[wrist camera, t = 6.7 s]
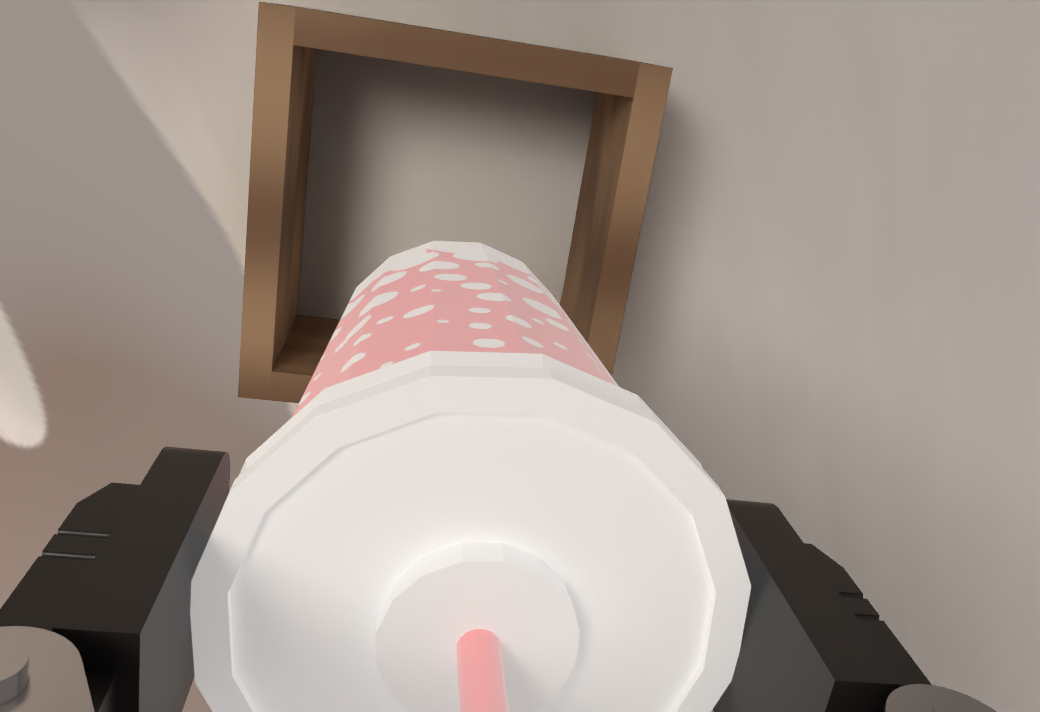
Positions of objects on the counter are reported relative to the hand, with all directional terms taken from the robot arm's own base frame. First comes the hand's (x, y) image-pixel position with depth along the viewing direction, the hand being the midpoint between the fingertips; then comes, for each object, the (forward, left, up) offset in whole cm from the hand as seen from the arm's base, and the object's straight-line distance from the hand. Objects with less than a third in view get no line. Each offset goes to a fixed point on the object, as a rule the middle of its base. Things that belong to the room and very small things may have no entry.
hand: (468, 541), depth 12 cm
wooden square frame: (0, 0, -24) cm, 24 cm away
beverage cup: (0, 0, -7) cm, 7 cm away
